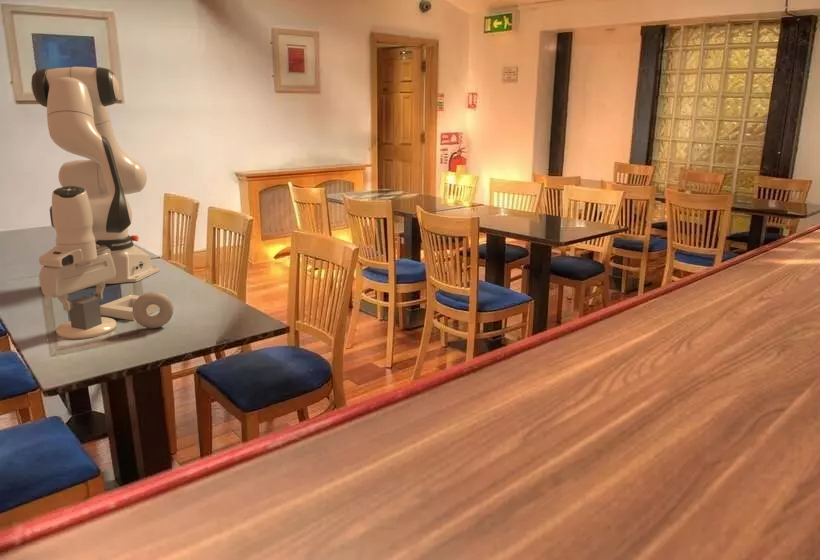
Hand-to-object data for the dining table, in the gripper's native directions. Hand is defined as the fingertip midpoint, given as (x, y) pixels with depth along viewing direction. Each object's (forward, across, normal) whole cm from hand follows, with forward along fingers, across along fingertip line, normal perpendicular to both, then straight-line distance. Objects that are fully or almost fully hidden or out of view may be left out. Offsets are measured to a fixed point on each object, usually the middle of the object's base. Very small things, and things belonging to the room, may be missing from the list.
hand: (84, 304), depth 164 cm
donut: (+7, -8, +15) cm, 18 cm away
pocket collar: (+7, -16, 0) cm, 17 cm away
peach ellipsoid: (+7, 0, 0) cm, 7 cm away
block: (+6, 0, 0) cm, 6 cm away
